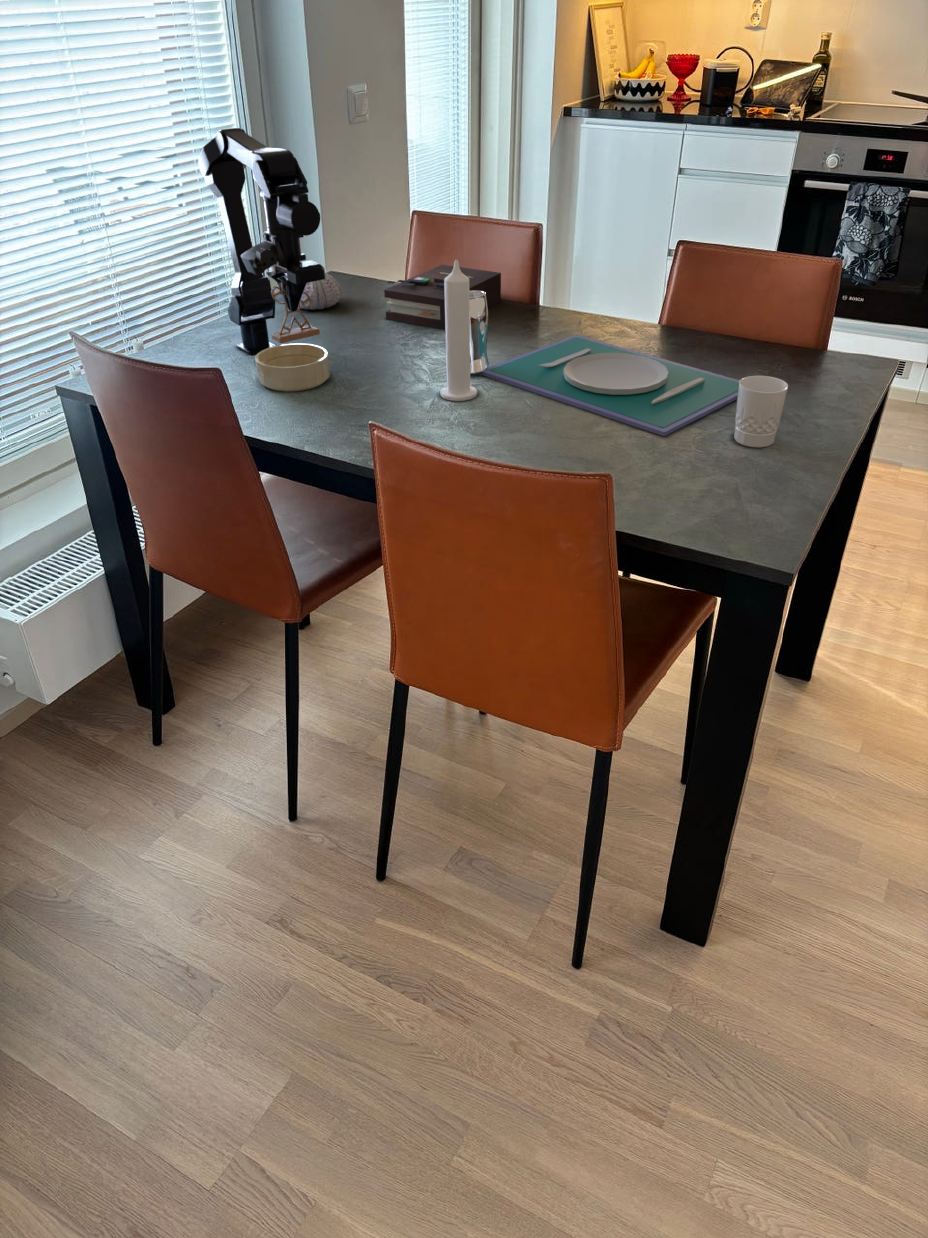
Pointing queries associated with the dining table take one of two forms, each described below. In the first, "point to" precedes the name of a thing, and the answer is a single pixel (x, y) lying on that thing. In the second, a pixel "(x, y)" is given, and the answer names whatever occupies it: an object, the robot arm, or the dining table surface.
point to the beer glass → (478, 332)
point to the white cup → (759, 410)
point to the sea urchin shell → (322, 293)
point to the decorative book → (435, 295)
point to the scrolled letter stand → (296, 332)
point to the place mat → (619, 383)
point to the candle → (457, 337)
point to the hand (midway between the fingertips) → (292, 310)
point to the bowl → (292, 367)
